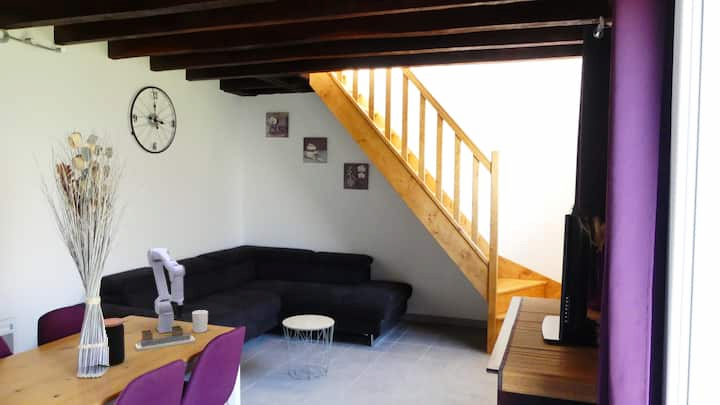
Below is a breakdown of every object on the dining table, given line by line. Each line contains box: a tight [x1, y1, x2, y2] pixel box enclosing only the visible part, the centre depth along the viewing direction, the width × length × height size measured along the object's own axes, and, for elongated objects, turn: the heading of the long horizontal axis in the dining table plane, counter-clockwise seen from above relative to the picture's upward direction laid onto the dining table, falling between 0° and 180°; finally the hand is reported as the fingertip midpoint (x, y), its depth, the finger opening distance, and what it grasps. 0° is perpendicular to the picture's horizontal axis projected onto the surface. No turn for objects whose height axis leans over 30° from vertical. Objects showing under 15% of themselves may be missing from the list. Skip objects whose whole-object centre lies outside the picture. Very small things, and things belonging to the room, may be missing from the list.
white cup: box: [191, 309, 209, 334], centre depth 275 cm, size 8×8×10 cm
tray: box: [134, 335, 196, 352], centre depth 253 cm, size 7×26×1 cm, turn 121°
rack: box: [140, 324, 184, 342], centre depth 260 cm, size 6×19×5 cm, turn 121°
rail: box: [140, 333, 191, 347], centre depth 252 cm, size 3×22×3 cm
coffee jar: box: [103, 317, 126, 367], centre depth 228 cm, size 11×11×18 cm
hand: (177, 316), depth 265 cm, fingers open, 7 cm apart
